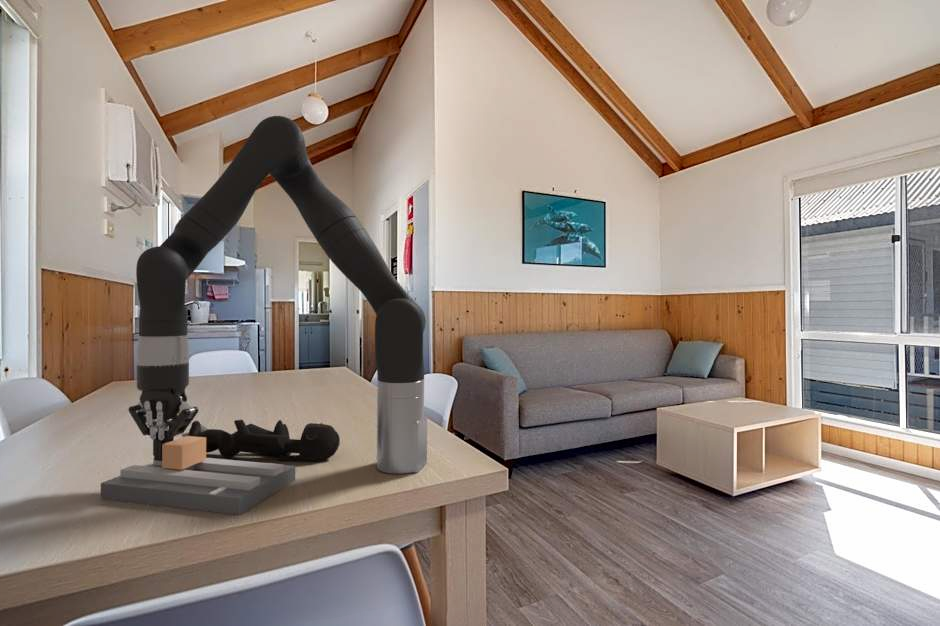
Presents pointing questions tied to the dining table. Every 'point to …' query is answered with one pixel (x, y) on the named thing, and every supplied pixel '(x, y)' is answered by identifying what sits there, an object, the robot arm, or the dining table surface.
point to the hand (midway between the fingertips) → (163, 459)
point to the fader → (184, 453)
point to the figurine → (272, 441)
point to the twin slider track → (200, 485)
